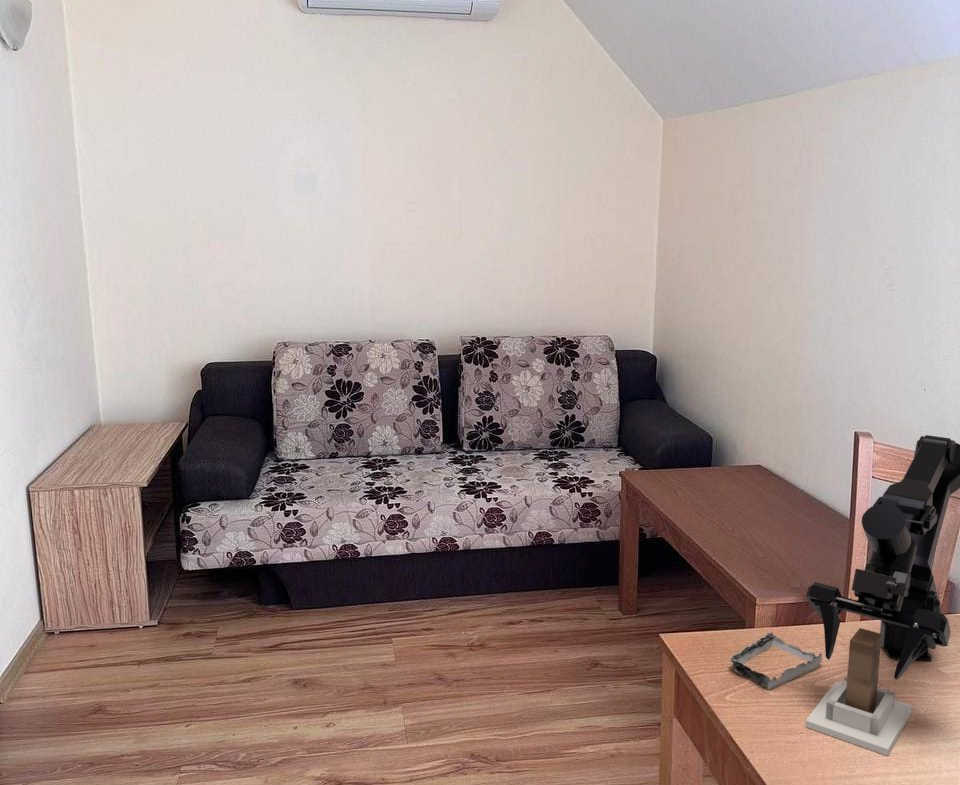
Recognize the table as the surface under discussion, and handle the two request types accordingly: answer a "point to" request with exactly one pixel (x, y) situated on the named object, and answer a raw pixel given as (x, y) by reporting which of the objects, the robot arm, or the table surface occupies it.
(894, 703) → the white recessed tray
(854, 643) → the walnut block
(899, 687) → the table surface
